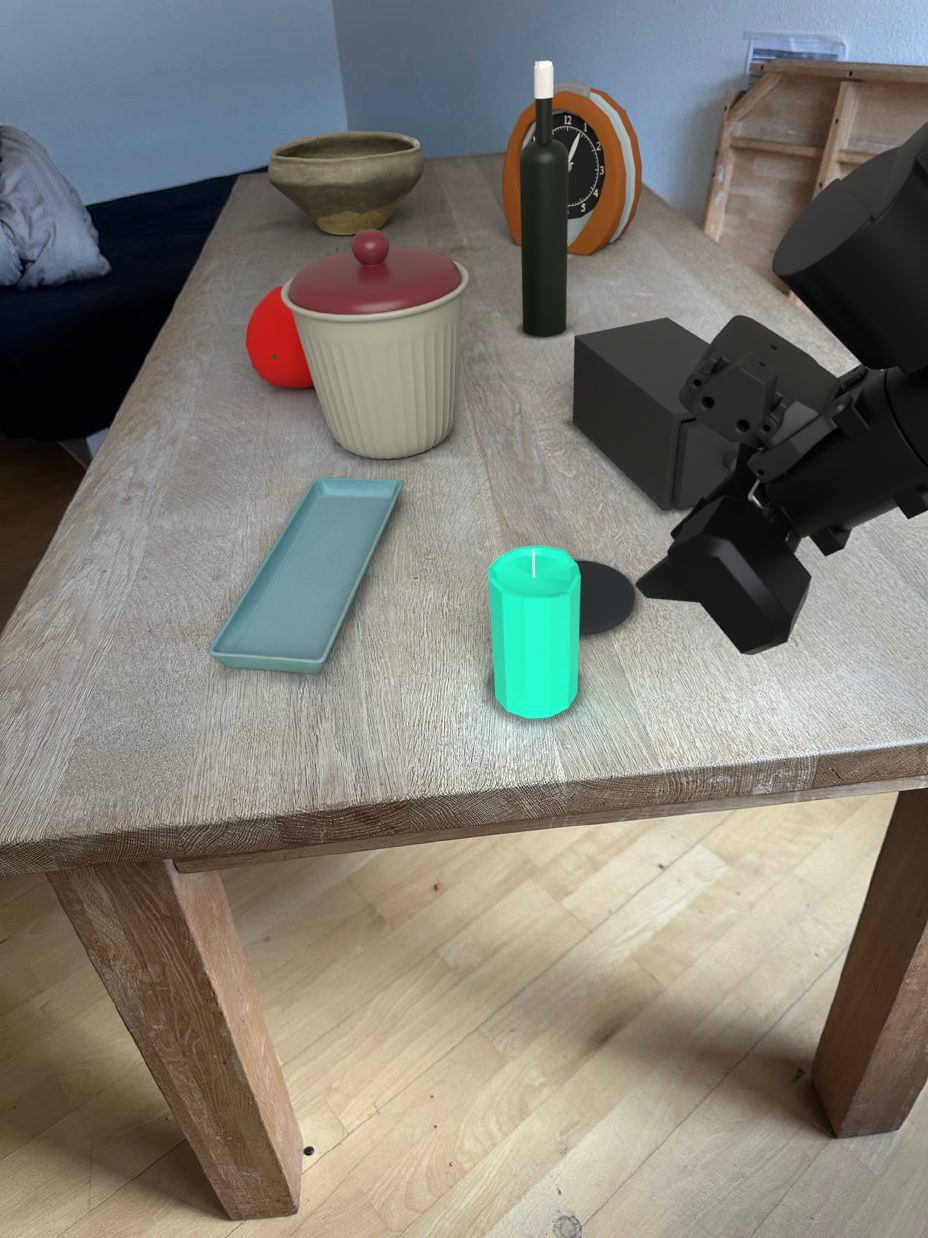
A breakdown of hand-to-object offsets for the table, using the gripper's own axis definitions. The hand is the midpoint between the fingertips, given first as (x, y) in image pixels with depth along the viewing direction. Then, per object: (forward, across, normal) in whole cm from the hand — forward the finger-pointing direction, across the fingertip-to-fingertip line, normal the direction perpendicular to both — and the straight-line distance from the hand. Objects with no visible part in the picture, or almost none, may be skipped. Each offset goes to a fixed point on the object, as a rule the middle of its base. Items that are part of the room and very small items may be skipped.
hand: (658, 563), depth 48 cm
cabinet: (+18, -36, +1) cm, 41 cm away
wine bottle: (+36, -61, -17) cm, 73 cm away
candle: (+15, 0, +4) cm, 16 cm away
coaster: (+16, -11, +3) cm, 20 cm away
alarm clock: (+46, -98, -27) cm, 111 cm away
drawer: (+16, -34, +2) cm, 38 cm away
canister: (+38, -28, -18) cm, 50 cm away
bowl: (+76, -94, -56) cm, 133 cm away
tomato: (+50, -36, -31) cm, 69 cm away
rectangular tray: (+31, -4, -12) cm, 34 cm away
